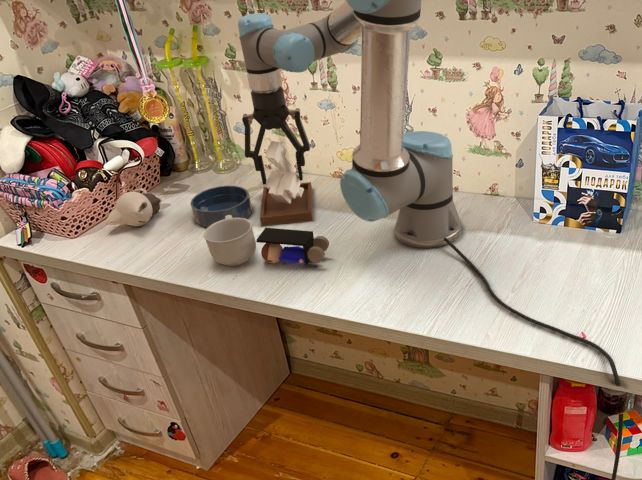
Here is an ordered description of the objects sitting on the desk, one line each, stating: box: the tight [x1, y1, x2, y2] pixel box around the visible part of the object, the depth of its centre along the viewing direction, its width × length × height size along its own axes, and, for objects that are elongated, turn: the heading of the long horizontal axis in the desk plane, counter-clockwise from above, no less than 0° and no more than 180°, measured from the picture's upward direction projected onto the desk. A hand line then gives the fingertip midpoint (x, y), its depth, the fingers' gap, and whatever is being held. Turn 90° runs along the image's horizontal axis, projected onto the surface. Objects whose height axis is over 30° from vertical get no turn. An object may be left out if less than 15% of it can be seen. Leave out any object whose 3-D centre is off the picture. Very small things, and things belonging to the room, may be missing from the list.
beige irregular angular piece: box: [264, 140, 304, 204], centre depth 173 cm, size 7×12×15 cm
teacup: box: [203, 215, 257, 267], centre depth 159 cm, size 14×11×8 cm
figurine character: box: [255, 227, 330, 267], centre depth 155 cm, size 7×8×15 cm
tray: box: [259, 181, 313, 227], centre depth 178 cm, size 18×13×2 cm
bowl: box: [190, 185, 253, 228], centre depth 177 cm, size 15×15×4 cm
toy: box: [105, 187, 163, 227], centre depth 176 cm, size 13×9×15 cm
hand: (283, 180), depth 174 cm, fingers closed on beige irregular angular piece, 8 cm apart
